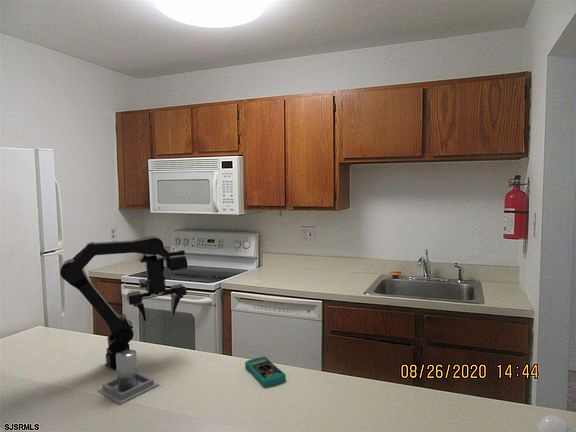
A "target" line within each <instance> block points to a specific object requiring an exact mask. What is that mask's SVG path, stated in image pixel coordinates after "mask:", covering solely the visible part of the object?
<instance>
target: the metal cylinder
mask: <svg viewBox="0 0 576 432" xmlns="http://www.w3.org/2000/svg"><path fill="white" fill-rule="evenodd" d="M137 357H138V356H137V350H134V349H130V350H124V351H121V352H119V353H117V354H116V365H117V370H116V375H117V377H116V378H117V379H118V390H119V391H121V392H125V391H127V390H129V389H132V388H134V387H136V386H138V385H139V383H138V373H139V372H138V360H137V359H138V358H137Z"/></svg>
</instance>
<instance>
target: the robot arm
mask: <svg viewBox="0 0 576 432" xmlns="http://www.w3.org/2000/svg"><path fill="white" fill-rule="evenodd" d="M133 253H135V254H142V256H141V257H140V258H139V263H141V264H143V263H145V268H146V278H140V279H139V280H138V284H139V289H141V290H142V289H145V291H146V292H144V293H141V292H140V290H139V291H138V290H137V291H132V292H128V293H127V294H126V301H127V303H128V305H130V306H133V308H134V307H135V308H136V307H137V308H138V311H139V312H140V315H141V317H142V320H143V322H144V323H146V322H147V318H146V311H145V305H144V303H143V300H146V299H151V298H159V297H162V296H163V297H164V296H168V295H169V296H170V299H171V300H170V301H171V304H170V305H171V306H170V310H171V311H170V312H171V316H172V317H174V315H175V312H176V310H177V308H178V307H177V306H178V305H179V303H180V300H181V299H183V298H184V296H186V295H187V294H188V291H187V287H186V286H184V285H183V284H182V283H178V284H172V285H170V288H167V287H166V275H165V273H166V272H165V269H166V270H169V272H177V271H184V270H187V269H188V260H187V256H186V251H185V250H184V249H180V250H176V251H169V250H168V249H167V248H166V249H165V245H164V242H163V241H162V239H160V238H159V237H158V236H157V235H149V236H144V237H140V238H137V239H133V240H120V241H119V240H117V241H101V242H100V241H99V242H95V241H90V242H88V243H87V244H86V245H85V247H84V248H82V249H81V250H80V251H79V252H78V253H76V255H74V256H73V257H72V258H70V259H67V260H65V261H64V262H63V263H62V264H61V267H60V271H59V273H60V276H61V278H62V279H63V280H65V282H67V283H68V284H69V285H71V286H72V287H74V288H75V289H77V290H78V291H79V292H80V293H81V294H82V295H83V297H84V298H85V299H86V300H87V301H88V302H89V304H90V305H91V306H92V307H93V308H94V310H95V311H96V312H97V314H99V316H100V317H101V318H102V320H104V322H105V323H106V324H107V326H108V330H110V334H109V336H108V337H107V348H106V353H105V362H106V363H105V364H104V365H105V366H106V367H107V368H110V369H111V370H114V371H117V365H116V354H117V353H119V352H121V351H124V350H131V349H130V342H131V341H132V340H133V338H134V336H135V335H134V326H133V323H132V321H131V320H129V319H128V318H127V315H126V314H125V313H123V314H122V315H120V314H118V313H117V312H116V311H115V310H114V309H113V307H112V306H111V305H110V304H109V303H108V302H107V300H106V299H105V298H104V297H103V295H102V294H101V293H100V291H99V290H98V289H97V288H96V287H95V286H94V284H93V283H92V282H91V280H90V278H89V277H88V275H87V272H86V270H85V267H86V266H87V265H88V264H89V262H91V261H92V259H93V258H94V257H96V256H102V255H104V256H105V255H106V256H107V255H118V254H119V255H121V254H133ZM157 255H158V256H157Z"/></svg>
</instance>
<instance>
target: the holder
mask: <svg viewBox="0 0 576 432" xmlns="http://www.w3.org/2000/svg"><path fill="white" fill-rule="evenodd" d="M154 379H155V378H154ZM154 379H153V378H152V377H149V376H148V375H144V374H143V373H140V372H138V383H139V385H138V386H136V387H134V388H132V389H129V390H127V391H125V392H121V391H119V390H118V379H117V377H116V378H115V379H112V380H110V381H107V382H105V383H102V387H101V388H99V389H97V392H98V391H99V392H100V394H101V393H102V394H101V395H103V394H104V395H103V396H105V395H106V396H107V398H108V397H109V399H110V398H111V400H112V401H113V402H116V403H117V404H119V405H123V404H125V403H127V402H129V401H131V400H134V399H135V398H136V396H137V397H138V395H139V396H141V395H143V394H145V393H147V392H149V391H151V390H153V389H155V388H157V387H159V386H160V384H159V383H157V382H156V381H154ZM99 392H98V393H99ZM106 396H105V397H106ZM130 399H131V400H130Z"/></svg>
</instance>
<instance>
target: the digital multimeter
mask: <svg viewBox="0 0 576 432" xmlns="http://www.w3.org/2000/svg"><path fill="white" fill-rule="evenodd" d="M244 364H245V365H244V367H245V369H246V370H247V371H248V372H249V373H250V374H251V375H252V376H253V377H254V378H255V379H256V380H257V381H258V382H259V383H260V384H261V386H262V387H263V388H267V387H272V386H275V385H278V384H282V383H283V382H285V381H286V380H287V379H286V374H287V373H285V372H283V370H281V369H279V368H278V367H277V366H276V365H275V364H274V363H273V362H272V361H271V360H270V359H269V358H268V357H267V356H265V355H264V356H259V357H255V358H252V359H248V360H246V361H245V363H244Z"/></svg>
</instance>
